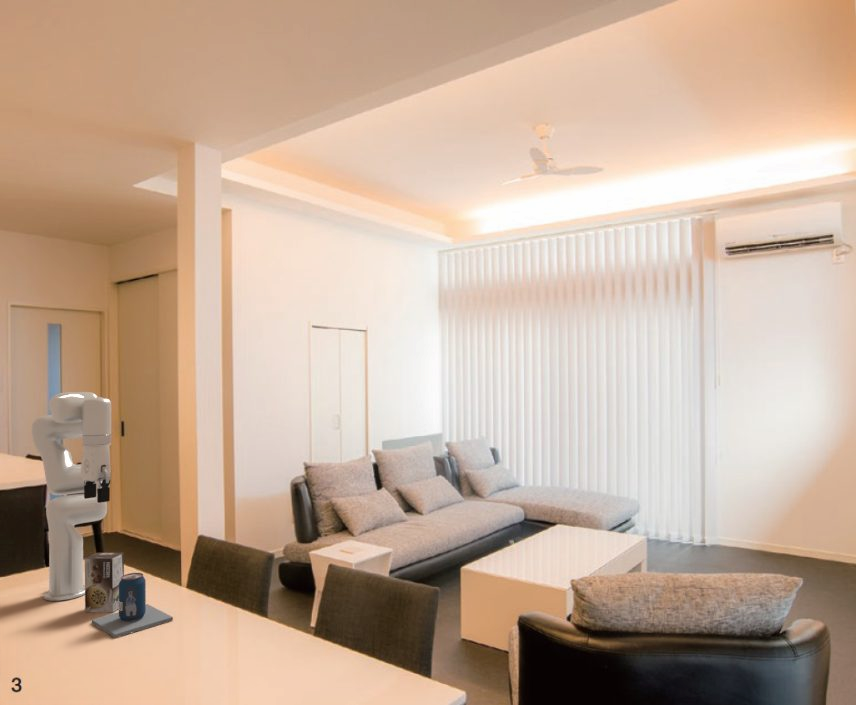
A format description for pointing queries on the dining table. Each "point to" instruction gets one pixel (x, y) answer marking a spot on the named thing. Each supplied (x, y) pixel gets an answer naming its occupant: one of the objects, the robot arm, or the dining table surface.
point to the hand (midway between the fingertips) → (96, 499)
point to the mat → (119, 628)
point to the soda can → (132, 597)
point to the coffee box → (103, 581)
